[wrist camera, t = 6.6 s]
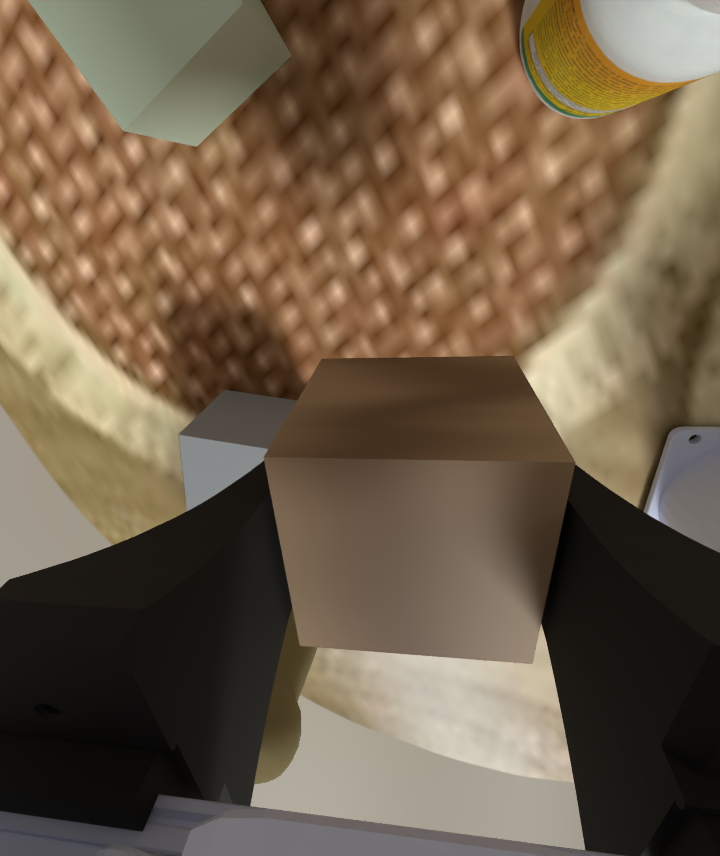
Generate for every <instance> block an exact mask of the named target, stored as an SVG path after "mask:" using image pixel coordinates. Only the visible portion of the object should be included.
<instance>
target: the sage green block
mask: <svg viewBox="0 0 720 856" xmlns="http://www.w3.org/2000/svg"><path fill="white" fill-rule="evenodd" d="M28 1H29V2H30V4H31V5H32V7H33V8H34V9H35V11H36V12H37V13H38V15H39V16H40V17H41V19H42V20H43V22H44V23H45V24H46V26H47V27H48V28H49V30H50V31H51V32H52V34H53V35H54V37H55V38H56V39H57V41H58V42H59V43H60V45H61V46H62V48H63V49H64V50H65V52H66V53H67V54H68V56H69V57H70V58H71V60H72V61H73V63H74V64H75V65H76V67H77V68H78V69H79V71H80V72H81V74H82V75H83V76H84V78H85V79H86V80H87V82H88V83H89V84H90V86H91V87H92V89H93V90H94V91H95V93H96V94H97V95H98V97H99V98H100V99H101V101H102V102H103V104H104V105H105V106H106V108H107V109H108V110H109V112H110V113H111V115H112V116H113V117H114V119H115V120H116V121H117V123H118V124H119V125H120V127H121V128H122V130H123V131H126V132H131V133H135V134H140V135H145V136H149V137H154V138H158V139H163V140H168V141H172V142H177V143H182V144H186V145H191V146H196V147H197V146H198V145H199V144H200V143H201V142H202V141H203V140H204V139H205V138H206V137H207V136H208V135H209V134H210V133H211V132H213V131H214V130H215V129H216V128H217V127H218V126H219V125H220V124H221V123H222V122H223V121H224V120H225V119H226V118H227V117H228V116H229V115H230V114H231V113H232V112H233V111H234V110H236V109H237V108H238V107H239V106H240V105H241V104H242V103H243V102H244V101H245V100H246V99H247V98H248V97H249V96H250V95H251V94H252V93H253V92H254V91H255V90H256V89H257V88H259V87H260V86H261V85H262V84H263V83H264V82H265V81H266V80H267V79H268V78H269V77H270V76H271V75H272V74H273V73H274V72H275V71H276V70H277V69H278V68H279V67H281V66H282V65H283V64H284V63H285V62H286V61H287V60H288V59H289V58H290V57H291V56H292V55H291V54H290V52H289V50H288V48H287V47H286V45H285V43H284V41H283V40H282V38H281V36H280V34H279V32H278V31H277V29H276V27H275V25H274V24H273V22H272V20H271V18H270V16H269V15H268V13H267V11H266V9H265V8H264V6H263V4H262V2H261V1H260V0H28Z"/></svg>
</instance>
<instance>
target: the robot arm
mask: <svg viewBox="0 0 720 856" xmlns="http://www.w3.org/2000/svg"><path fill="white" fill-rule="evenodd" d="M693 435H696V437H695V438H694V439H692V440H689V438H690V437H691V436H693ZM291 610H292V602H291V597H290V592H289V587H288V582H287V576H286V571H285V566H284V561H283V556H282V550H281V545H280V540H279V535H278V530H277V524H276V519H275V514H274V509H273V504H272V498H271V493H270V488H269V483H268V478H267V472H266V467H265V462H264V461H263V462H261V463H260V464H259V465H257V466H256V467H255V468H254V469H252V470H251V471H250V472H248V473H247V474H245V475H244V476H242V477H241V478H240V479H238V480H237V481H235V482H234V483H232V484H231V485H229V486H228V487H226V488H225V489H223V490H222V491H220V492H219V493H217V494H216V495H214V496H213V497H211V498H209V499H208V500H206V501H204V502H203V503H201V504H199V505H197V506H196V507H194V508H192V509H190V510H188V511H187V512H185V513H183V514H181V515H179V516H177V517H175V518H173V519H171V520H169V521H167V522H165V523H163V524H161V525H158V526H156V527H154V528H152V529H150V530H148V531H146V532H144V533H141V534H139V535H137V536H135V537H132V538H130V539H128V540H125V541H123V542H120V543H118V544H115V545H113V546H110V547H108V548H105V549H102V550H100V551H97V552H94V553H91V554H89V555H86V556H83V557H80V558H77V559H74V560H72V561H69V562H65V563H62V564H59V565H56V566H52V567H49V568H46V569H43V570H39V571H36V572H33V573H30V574H26V575H23V576H20V577H16V578H13V579H10V580H8V581H7V582H6V583H5V584H4V585H3V586H2V587H1V588H0V856H720V427H677V428H675V429H673V430H672V431H671V432H670V433H669V435H668V437H667V440H666V444H665V447H664V450H663V453H662V456H661V459H660V462H659V465H658V468H657V471H656V474H655V477H654V480H653V484H652V487H651V490H650V493H649V496H648V499H647V502H646V505H645V508H644V511H641V510H640V509H638V508H637V507H635V506H634V505H632V504H630V503H629V502H627V501H626V500H624V499H623V498H621V497H620V496H618V495H617V494H615V493H614V492H612V491H611V490H609V489H608V488H607V487H605V486H604V485H602V484H601V483H600V482H598V481H597V480H595V479H594V478H593V477H591V476H590V475H589V474H587V473H586V472H585V471H583V470H582V469H581V468H579V467H578V466H577V465H575V467H574V472H573V476H572V481H571V486H570V490H569V495H568V500H567V504H566V509H565V514H564V518H563V523H562V528H561V532H560V537H559V542H558V546H557V551H556V556H555V560H554V565H553V570H552V574H551V579H550V584H549V588H548V593H547V598H546V602H545V607H544V612H543V616H542V621H541V623H542V627H543V630H544V634H545V638H546V641H547V646H548V651H549V655H550V660H551V664H552V669H553V674H554V678H555V683H556V688H557V693H558V698H559V703H560V708H561V713H562V718H563V723H564V728H565V733H566V739H567V744H568V750H569V756H570V761H571V767H572V772H573V778H574V783H575V789H576V794H577V800H578V806H579V813H580V819H581V825H582V831H583V838H584V844H585V850H586V851H585V850H577V849H570V848H562V847H555V846H547V845H540V844H532V843H526V842H519V841H511V840H503V839H496V838H488V837H481V836H472V835H465V834H457V833H450V832H443V831H435V830H426V829H420V828H412V827H404V826H397V825H389V824H382V823H374V822H367V821H359V820H351V819H344V818H336V817H329V816H321V815H313V814H306V813H298V812H291V811H283V810H275V809H266V808H258V807H251V806H250V803H251V798H252V793H253V787H254V782H255V776H256V771H257V765H258V759H259V754H260V749H261V744H262V739H263V734H264V729H265V724H266V719H267V714H268V709H269V703H270V699H271V694H272V690H273V685H274V680H275V676H276V671H277V667H278V662H279V658H280V653H281V649H282V645H283V641H284V636H285V632H286V628H287V624H288V620H289V617H290V613H291Z"/></svg>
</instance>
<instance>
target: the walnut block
mask: <svg viewBox="0 0 720 856" xmlns="http://www.w3.org/2000/svg"><path fill="white" fill-rule="evenodd" d="M264 462H265V467H266V472H267V478H268V483H269V488H270V493H271V498H272V504H273V509H274V514H275V519H276V524H277V530H278V535H279V540H280V545H281V550H282V556H283V561H284V566H285V571H286V576H287V582H288V587H289V592H290V597H291V602H292V608H293V613H294V618H295V623H296V628H297V634H298V639H299V644H300V646H309V647H322V648H334V649H347V650H360V651H373V652H386V653H399V654H411V655H424V656H437V657H450V658H463V659H475V660H488V661H501V662H514V663H527V664H532V663H533V658H534V654H535V649H536V644H537V640H538V635H539V630H540V626H541V621H542V616H543V612H544V607H545V602H546V598H547V593H548V588H549V584H550V579H551V574H552V570H553V565H554V560H555V556H556V551H557V546H558V542H559V537H560V532H561V528H562V523H563V518H564V514H565V509H566V504H567V500H568V495H569V490H570V486H571V481H572V476H573V472H574V467H575V461H574V459H573V457H572V456H571V454H570V452H569V451H568V449H567V447H566V445H565V444H564V442H563V440H562V439H561V437H560V435H559V433H558V432H557V430H556V428H555V427H554V425H553V423H552V421H551V420H550V418H549V416H548V415H547V413H546V411H545V409H544V408H543V406H542V404H541V403H540V401H539V399H538V397H537V396H536V394H535V392H534V391H533V389H532V387H531V385H530V384H529V382H528V380H527V378H526V377H525V375H524V373H523V372H522V370H521V368H520V366H519V365H518V363H517V361H516V360H515V358H514V356H482V357H412V358H342V359H322V360H321V361H320V363H319V365H318V367H317V368H316V370H315V372H314V373H313V375H312V377H311V378H310V380H309V382H308V383H307V385H306V387H305V388H304V390H303V392H302V393H301V395H300V397H299V398H298V400H297V402H296V403H295V405H294V407H293V408H292V410H291V412H290V414H289V415H288V417H287V419H286V420H285V422H284V424H283V425H282V427H281V429H280V430H279V432H278V434H277V435H276V437H275V439H274V440H273V442H272V444H271V445H270V447H269V449H268V450H267V452H266V454H265V456H264Z"/></svg>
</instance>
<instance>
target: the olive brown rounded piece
mask: <svg viewBox="0 0 720 856" xmlns="http://www.w3.org/2000/svg"><path fill="white" fill-rule="evenodd" d="M316 650H317V647H309V646H300V644H299V639H298V634H297V628H296V623H295V618H294V613H293V608H292V610H291V613H290V617H289V620H288V624H287V628H286V632H285V636H284V641H283V645H282V649H281V653H280V658H279V662H278V667H277V671H276V676H275V680H274V685H273V690H272V694H271V699H270V703H269V709H268V714H267V719H266V724H265V729H264V734H263V739H262V744H261V749H260V754H259V759H258V765H257V771H256V776H255V782H254V784H259V783H265V782H268V781H271V780H273V779H275V778H277V777H279V776H280V775H281V774H282V773H283V772H284V771H285V769H286V768H287V767H288V766H289V764H290V763H291V761H292V759H293V757H294V755H295V753H296V750H297V748H298V746H299V741H300V736H301V711H300V709H299V706H298V703H297V701H298V698H299V696H300V693H301V690H302V688H303V685H304V682H305V680H306V677H307V674H308V672H309V669H310V666H311V664H312V661H313V658H314V656H315V653H316Z"/></svg>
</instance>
